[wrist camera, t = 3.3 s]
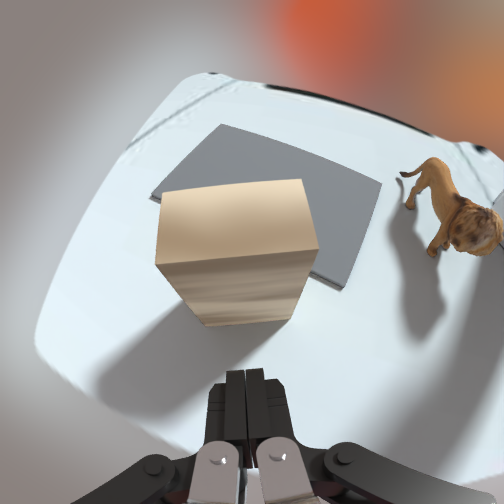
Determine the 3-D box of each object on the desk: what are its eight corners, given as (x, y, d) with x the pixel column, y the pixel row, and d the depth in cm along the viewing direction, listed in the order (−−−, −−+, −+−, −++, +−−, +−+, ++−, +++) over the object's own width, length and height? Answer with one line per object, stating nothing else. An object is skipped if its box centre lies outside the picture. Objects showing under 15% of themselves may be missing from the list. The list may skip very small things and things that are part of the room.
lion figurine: (469, 273, 23) (518, 231, 15) (441, 287, 22) (495, 244, 14) (411, 173, 30) (438, 120, 22) (381, 177, 29) (406, 119, 21)
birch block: (204, 282, 24) (162, 192, 13) (283, 274, 24) (301, 178, 13) (205, 326, 22) (154, 264, 11) (290, 318, 22) (319, 248, 11)
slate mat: (221, 125, 34) (221, 123, 34) (381, 185, 28) (382, 183, 28) (152, 196, 28) (151, 193, 28) (343, 288, 23) (344, 286, 23)
